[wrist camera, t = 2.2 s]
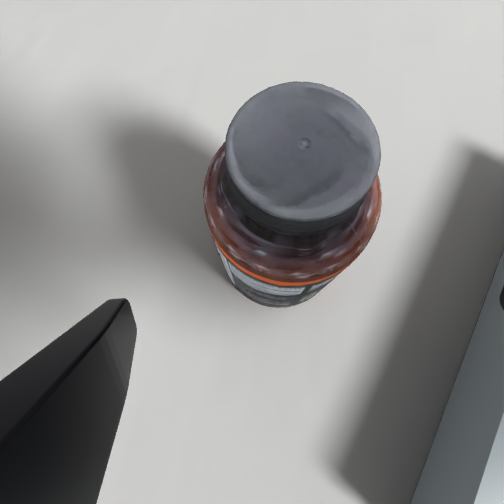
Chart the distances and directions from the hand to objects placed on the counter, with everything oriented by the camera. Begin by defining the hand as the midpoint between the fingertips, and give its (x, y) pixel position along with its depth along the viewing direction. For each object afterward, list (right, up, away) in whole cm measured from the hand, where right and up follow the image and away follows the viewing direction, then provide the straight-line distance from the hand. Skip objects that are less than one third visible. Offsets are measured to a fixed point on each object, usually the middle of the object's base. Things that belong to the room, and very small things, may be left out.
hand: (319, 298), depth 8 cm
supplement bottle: (0, +1, +12) cm, 12 cm away
